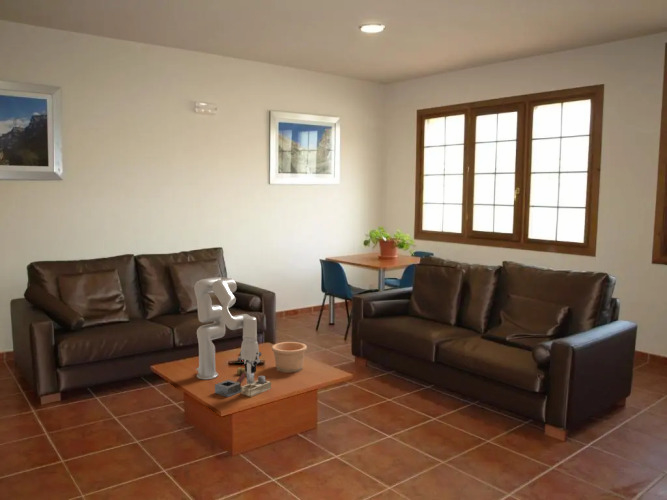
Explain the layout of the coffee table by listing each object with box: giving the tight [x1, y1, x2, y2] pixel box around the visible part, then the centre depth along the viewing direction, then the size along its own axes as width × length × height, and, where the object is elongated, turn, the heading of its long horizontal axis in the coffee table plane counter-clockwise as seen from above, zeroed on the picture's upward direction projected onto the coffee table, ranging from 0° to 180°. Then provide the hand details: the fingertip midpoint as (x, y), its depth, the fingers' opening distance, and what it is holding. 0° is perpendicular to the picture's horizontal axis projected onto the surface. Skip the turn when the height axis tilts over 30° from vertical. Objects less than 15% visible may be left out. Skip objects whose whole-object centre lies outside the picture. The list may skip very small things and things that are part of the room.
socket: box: [214, 379, 242, 398], centre depth 319 cm, size 10×10×5 cm
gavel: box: [236, 367, 256, 384], centre depth 342 cm, size 21×5×10 cm
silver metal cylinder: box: [246, 361, 255, 385], centre depth 317 cm, size 4×4×12 cm
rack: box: [240, 375, 272, 398], centre depth 321 cm, size 8×16×7 cm, turn 144°
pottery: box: [271, 341, 308, 374], centre depth 361 cm, size 22×22×14 cm
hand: (250, 371), depth 317 cm, fingers closed on silver metal cylinder, 4 cm apart
